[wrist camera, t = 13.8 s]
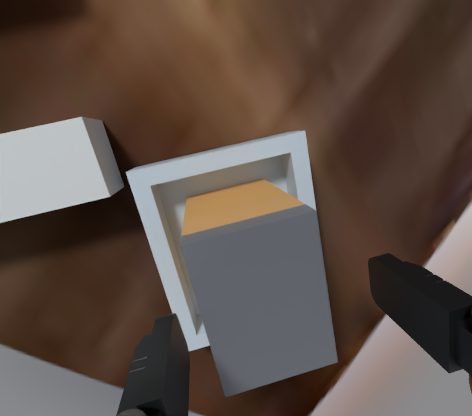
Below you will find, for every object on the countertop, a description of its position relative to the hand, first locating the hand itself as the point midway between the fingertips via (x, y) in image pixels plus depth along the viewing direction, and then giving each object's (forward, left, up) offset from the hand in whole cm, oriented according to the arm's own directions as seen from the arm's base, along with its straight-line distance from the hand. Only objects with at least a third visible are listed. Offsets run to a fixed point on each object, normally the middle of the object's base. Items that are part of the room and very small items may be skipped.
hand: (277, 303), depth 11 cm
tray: (+1, 0, -8) cm, 8 cm away
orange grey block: (+1, 0, -8) cm, 8 cm away
